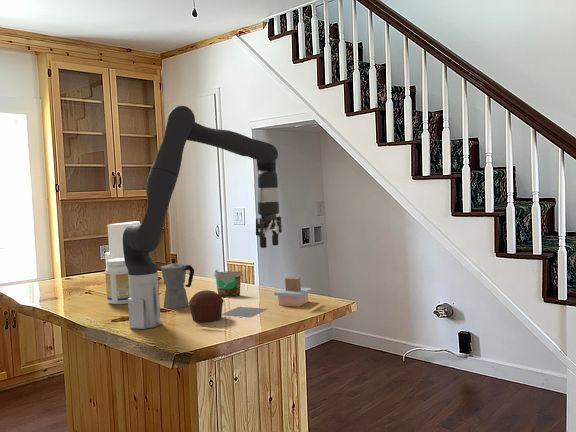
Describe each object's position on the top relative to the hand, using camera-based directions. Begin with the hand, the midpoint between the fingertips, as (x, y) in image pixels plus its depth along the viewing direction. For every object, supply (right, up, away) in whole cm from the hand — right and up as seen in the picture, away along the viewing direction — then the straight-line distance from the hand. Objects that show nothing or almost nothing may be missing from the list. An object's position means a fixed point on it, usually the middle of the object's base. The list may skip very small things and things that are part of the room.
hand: (269, 246), depth 196 cm
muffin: (-20, -24, -15) cm, 35 cm away
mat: (-8, -23, -7) cm, 25 cm away
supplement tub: (-59, -23, +24) cm, 68 cm away
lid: (+8, -17, +2) cm, 19 cm away
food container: (-18, -21, +24) cm, 37 cm away
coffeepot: (-34, -23, +10) cm, 43 cm away
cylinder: (-73, -21, +75) cm, 107 cm away
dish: (+9, -21, +2) cm, 23 cm away
